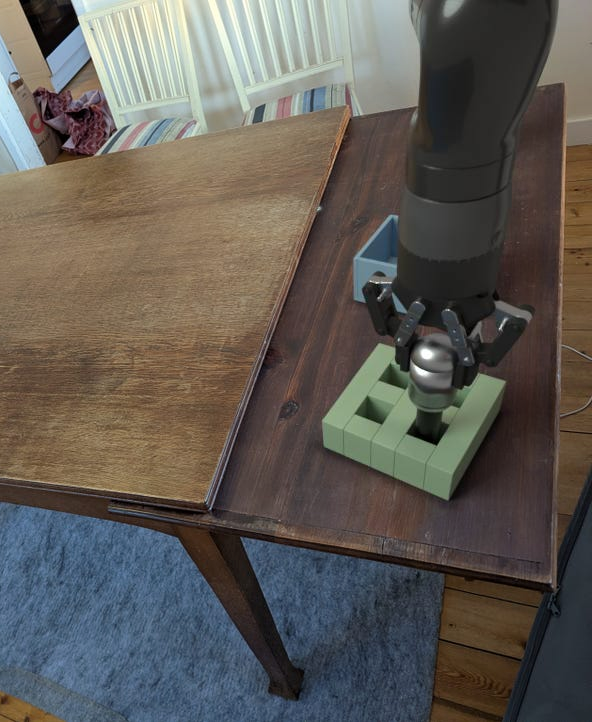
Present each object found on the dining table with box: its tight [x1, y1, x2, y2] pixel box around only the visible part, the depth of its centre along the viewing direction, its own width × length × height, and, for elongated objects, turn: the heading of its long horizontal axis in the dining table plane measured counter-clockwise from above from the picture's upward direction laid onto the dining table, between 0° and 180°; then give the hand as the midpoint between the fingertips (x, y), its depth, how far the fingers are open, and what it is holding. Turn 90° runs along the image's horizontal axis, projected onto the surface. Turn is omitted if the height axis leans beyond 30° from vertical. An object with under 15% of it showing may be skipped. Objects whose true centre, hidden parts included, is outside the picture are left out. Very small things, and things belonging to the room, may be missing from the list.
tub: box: [352, 214, 407, 315], centre depth 84 cm, size 14×11×8 cm
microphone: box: [408, 332, 459, 446], centre depth 62 cm, size 4×4×18 cm
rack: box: [321, 342, 507, 501], centre depth 70 cm, size 14×14×5 cm
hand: (433, 374), depth 59 cm, fingers closed on microphone, 4 cm apart
